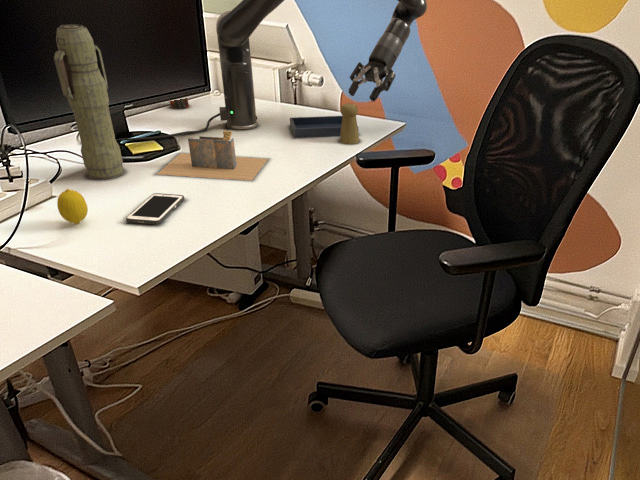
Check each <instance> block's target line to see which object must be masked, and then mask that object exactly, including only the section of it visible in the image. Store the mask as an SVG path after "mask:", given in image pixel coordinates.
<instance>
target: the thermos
mask: <svg viewBox="0 0 640 480" xmlns="http://www.w3.org/2000/svg"><path fill="white" fill-rule="evenodd" d="M55 34H56V35H55V42H56V47H57V49H58V50H57V51H55V52H54V56H53V61H54V65H55V68H56V72H57V77H58V81H59V85H60V88H61V92H62V96H63V97H65V98H67V101H68V105H69V106H70V109H72V112H73V116H74V120H75V124H76V128H77V132H78V136H79V140H80V144H81V146H80V154H81V157H82V162H83V165H84V168H86V174H87V177H88V178H89V179H92V180H100V181H102V180H104V181H105V180H111V179H116V178H119V177H121V176H123V175H124V174H125V169H124V165H123V163H124V160H123V156H122V153H121V147H120V145H119V144H118V141H116V139H115V138H116V135H115V131H114V126H113V122H112V117H111V112H110V107H109V105H110V100H109V94H108V90H109V85H108V78H107V74H106V69H105V64H104V60H103V55H102V50H101V49H100V48H99V46H98V45H97V44H95V43H94V39H93V37H92V34H91V33H90V32H89V30H88V28H87V27H86V26H84V25H82V24H78V23H77V24H75V23H74V24H73V23H71V24H69V23H68V24H61V25H59V27H57V28H56V33H55Z"/></svg>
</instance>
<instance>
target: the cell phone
mask: <svg viewBox="0 0 640 480" xmlns="http://www.w3.org/2000/svg"><path fill="white" fill-rule="evenodd" d="M184 200H185V196H184V194H183V195H182V194H176V193H175V194H173V193H162V192H160V193H159V192H155V193H152V194H150V195H149V196H148V197H147V198H146V199H145V200H144V201H143V202H142V203H140V204H139V205H138V206H137V207H136V208H135V209H133V210H132V211H131V212H130V213H129V214H128V215H127V216H126V217H125V221H126V222H127V223H133V224H144V225H145V224H146V225H160V224H161V223H162V222H163V221H165V219H166V218H168V216H169V215H170V214H171V213H172V212H173V211H175V209H176V208H177V207H178V206H179V205H180V204H182V202H184Z"/></svg>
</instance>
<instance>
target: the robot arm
mask: <svg viewBox="0 0 640 480" xmlns="http://www.w3.org/2000/svg"><path fill="white" fill-rule="evenodd" d="M283 2H285V0H241V1H240V2H239V3H238V4H237V5H236V6H234V7H233V8H232V9H231V10H227V11H224V12H223V13H221V14H220V15H219V16H218V17H217V20H216V25H215V32H216V36H217V43H218V45H217V46H218V55H219V64H220V73H221V80H222V88H223V89H222V90H223V99H224V106H219V112H218V113H216V114H215V115H213V116H212V117H210V118H209V119H208V120H207V123H206V125H205V127H204V128H202V129H200V130H187V131H186V130H185V131H181V132H176V133H170V134H166V135H165V134H163V135H156V136H146V137H142V136H141V137H124V138H123V137H122V138H121V137H120V138H119V137H118V138H119V139H116V142H126V141H127V142H130V141H131V142H132V141H150V140H160V139H167V138H173V137H178V136H183V135H189V134H191V135H192V134H198V133H204V132H206V131H207V130H208V129H209V127H210V123H211V122H212V121H213V120H215V119H216V118H219V117H220V121H221V122H225V121H226V126H227V129H229V130H230V129H231V130H232V129H233V130H251V129H254V128H256V127H257V126H258V116H257V110H256V99H255V98H256V97H255V87H254V77H253V64H252V54H251V46H250V37H251V36H252V34H254V32H255V30H256V29H257V28H258V27H259V26H260V24H261V23H262V22H263V21H264V20H265V18H266V17H268V16H269V15H270V14H271V13H272V12H273V11H274V10H276V9H277V8H278V7H279V6H280V5H281V4H282V3H283ZM397 2H398V3H397V4H396V6H395V8H394V10H393V13H392V15H391V18H390V21H389V23H388V25H387V26H386V28H385V30H384V32H383V33H382V35H381V36H380V37H379V39H378V41H377V42H376V44H375V45H374V48H373V50H372V51H371V53H370V54H369V57H368V62H367V63H366V64H362V62H360V61H359V62H358V63H357V64H356V66H355V68H353V70H352V72H351V74H350V76H349V79H350V81H351V82H352V83H351V85H350V86H349V88H348V94H349V95H350V96H351V97H354V96H356V95H355V94H356V93H357V92H358V89H359V87H360V86H361V85H363V84H366V83H368V82H369V83H374V84H375V86H374V88H373V90H372V91H371V93H370V95H369V99H370V101H371V102H376V101H377V100H378V98H379V96H380V94H381V93H382V92H383V91H384V92H388V91H389V90H390V88H391V86H392V84H393V83H394V80H395V78H396V73H395V72H394V71H393V67H394V66H395V64H396V61H398V58H399V56H400V54H401V52H402V50H403V48H404V46H405V44H406V43H407V40H408V38H409V37H410V34H411V25H412V23H413V22H414V21H415V20H417V19H419V18H421V17H423V16H424V15H425V13H427V11H428V4H427V0H397Z"/></svg>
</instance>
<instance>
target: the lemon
mask: <svg viewBox="0 0 640 480" xmlns="http://www.w3.org/2000/svg"><path fill="white" fill-rule="evenodd" d="M56 201H57V203H56V204H57V205H56V206H57V210H58V213H59V215H60V216H61V217H62V219H64V221H67V222H69V223H73V224H75V225H79V224H80V223H81V222H82V221H84V220H85V218H86V217H87V216H88V211H89V210H88V204H87V201H86V199H85V197H84V196H83V195H82V194H81V192H79V191H77V190H74V189H70V188H66V189H65V190H63V191H62V192H61V193H60V194H59V195H58V197H57V200H56Z"/></svg>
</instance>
